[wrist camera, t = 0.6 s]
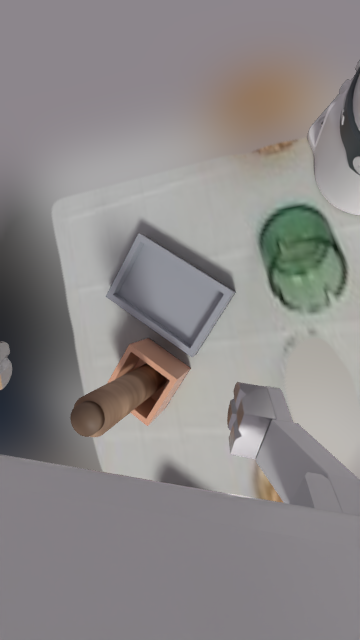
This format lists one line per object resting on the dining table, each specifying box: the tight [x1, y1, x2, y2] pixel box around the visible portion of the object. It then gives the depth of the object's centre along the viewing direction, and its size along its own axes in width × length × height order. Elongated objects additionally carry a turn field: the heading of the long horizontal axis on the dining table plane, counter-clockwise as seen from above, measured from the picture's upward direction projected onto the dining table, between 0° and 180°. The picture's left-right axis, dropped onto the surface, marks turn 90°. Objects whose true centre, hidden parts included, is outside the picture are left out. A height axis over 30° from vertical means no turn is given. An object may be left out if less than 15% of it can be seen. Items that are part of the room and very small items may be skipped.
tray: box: [106, 233, 236, 357], centre depth 48 cm, size 12×18×2 cm, turn 59°
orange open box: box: [107, 338, 191, 426], centre depth 48 cm, size 9×9×7 cm
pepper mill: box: [71, 363, 167, 437], centre depth 41 cm, size 5×5×19 cm
